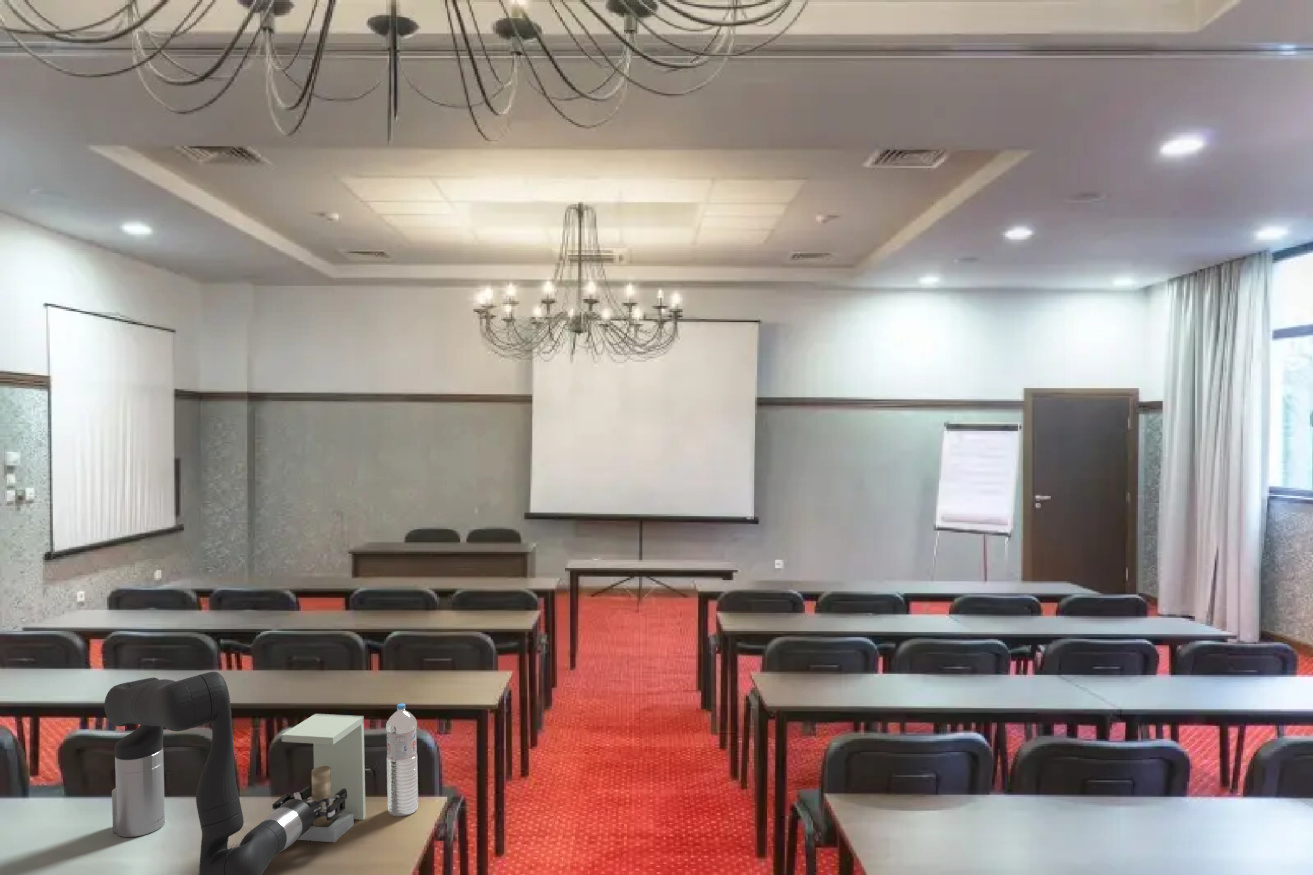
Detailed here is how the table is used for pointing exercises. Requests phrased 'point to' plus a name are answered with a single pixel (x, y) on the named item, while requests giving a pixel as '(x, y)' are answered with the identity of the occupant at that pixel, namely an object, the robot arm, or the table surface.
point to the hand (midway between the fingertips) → (327, 791)
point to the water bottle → (402, 763)
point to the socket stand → (336, 765)
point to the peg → (321, 791)
